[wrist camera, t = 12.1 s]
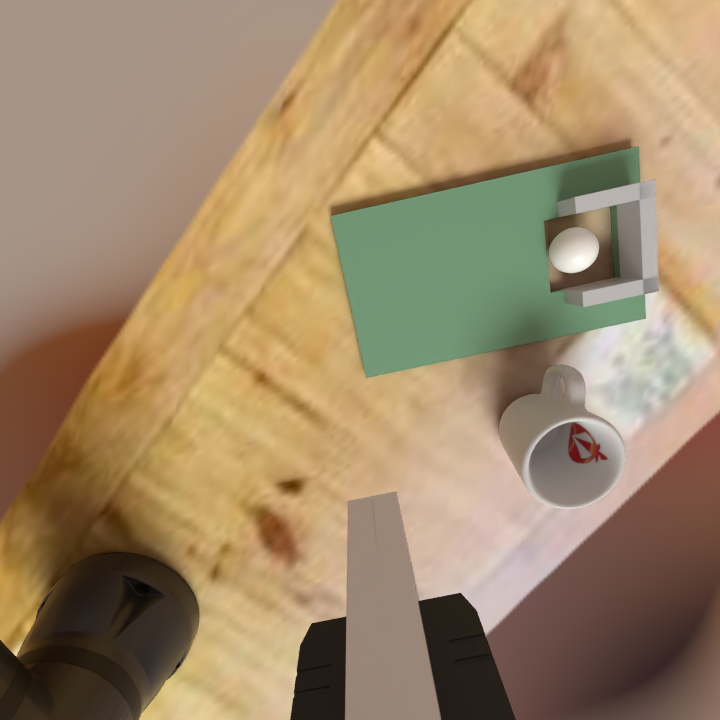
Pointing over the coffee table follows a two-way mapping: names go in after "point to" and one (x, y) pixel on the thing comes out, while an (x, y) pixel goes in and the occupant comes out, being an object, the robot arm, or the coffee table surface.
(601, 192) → the white u-shaped bracket
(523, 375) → the coffee table surface
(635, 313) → the green mat
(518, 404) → the cup
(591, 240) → the ball
